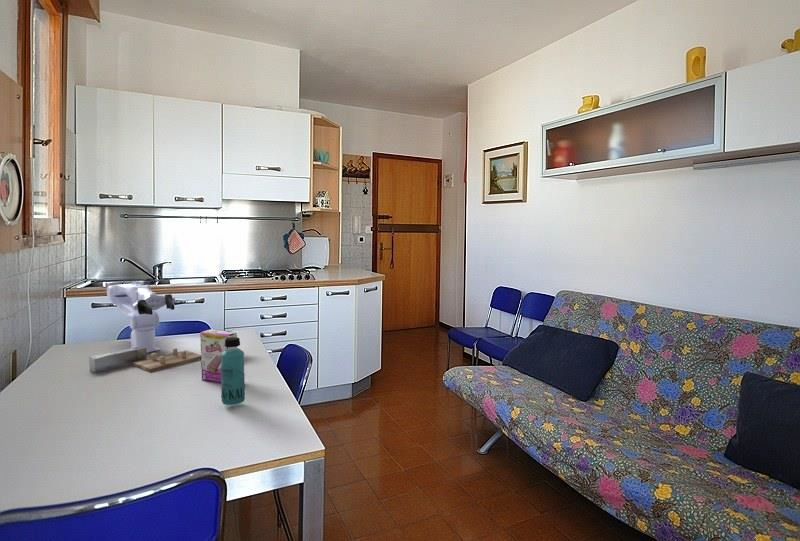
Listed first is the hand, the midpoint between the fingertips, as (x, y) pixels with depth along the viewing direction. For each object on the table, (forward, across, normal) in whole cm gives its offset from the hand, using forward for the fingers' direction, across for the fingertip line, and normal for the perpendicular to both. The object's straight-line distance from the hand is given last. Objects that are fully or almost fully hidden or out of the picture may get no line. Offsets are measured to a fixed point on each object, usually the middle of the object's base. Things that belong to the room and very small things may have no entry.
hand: (162, 309), depth 171 cm
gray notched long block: (-3, -15, +19) cm, 25 cm away
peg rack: (+5, -1, +19) cm, 20 cm away
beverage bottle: (+59, -3, +10) cm, 60 cm away
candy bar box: (+36, +4, +15) cm, 39 cm away
